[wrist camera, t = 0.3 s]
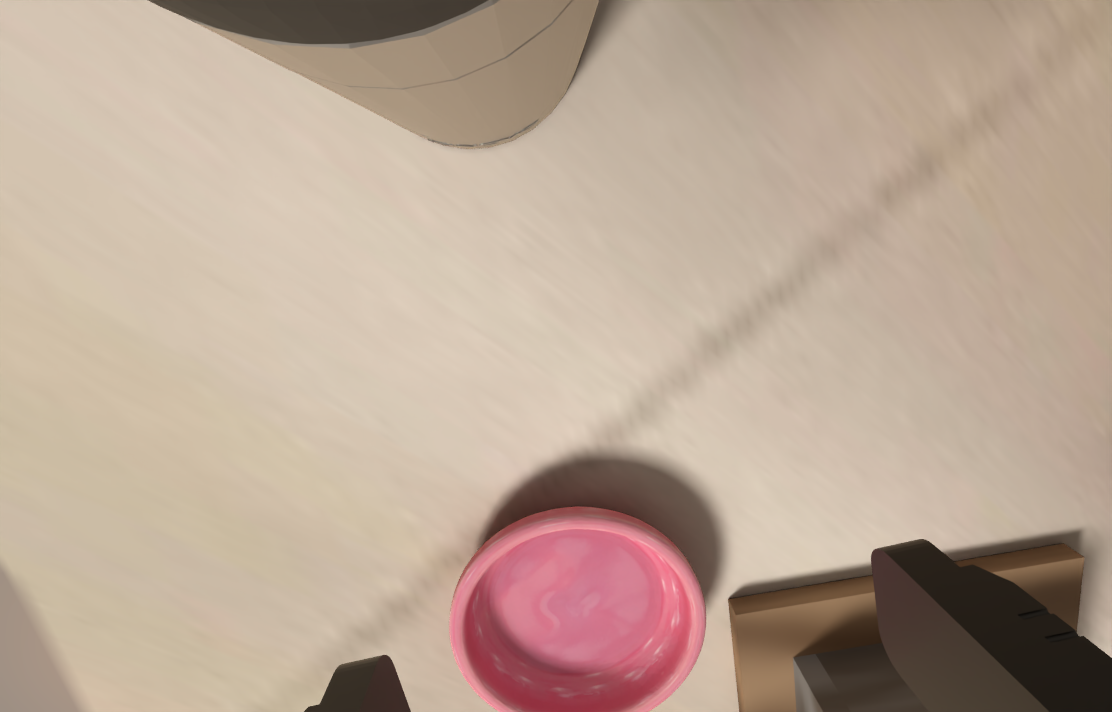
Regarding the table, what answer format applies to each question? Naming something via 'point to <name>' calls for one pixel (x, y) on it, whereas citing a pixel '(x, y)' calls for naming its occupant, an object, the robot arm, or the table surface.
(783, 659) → the collar board
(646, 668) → the saucer
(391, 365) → the table surface
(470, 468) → the table surface
